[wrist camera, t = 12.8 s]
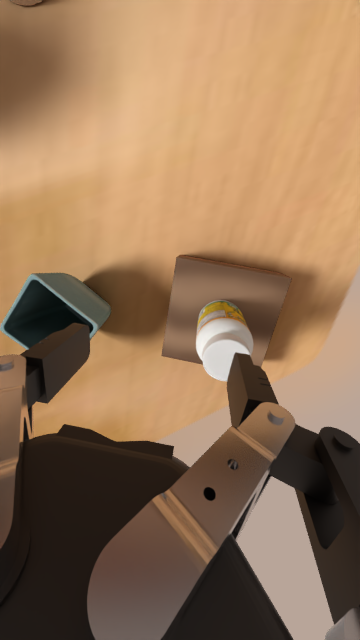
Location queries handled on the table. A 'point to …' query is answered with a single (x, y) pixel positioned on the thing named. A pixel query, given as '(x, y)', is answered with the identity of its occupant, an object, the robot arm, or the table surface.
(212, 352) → the supplement bottle
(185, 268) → the walnut plinth
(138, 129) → the table surface
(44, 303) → the flower pot
